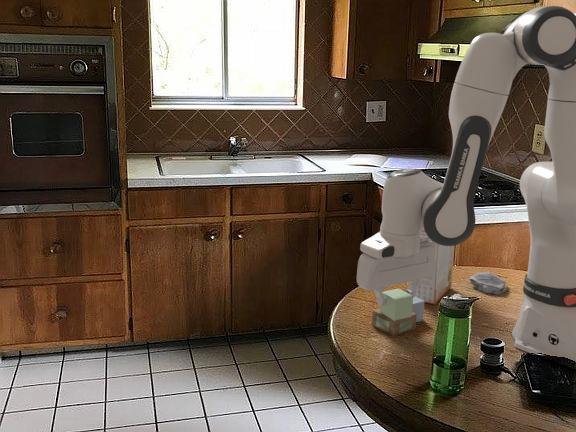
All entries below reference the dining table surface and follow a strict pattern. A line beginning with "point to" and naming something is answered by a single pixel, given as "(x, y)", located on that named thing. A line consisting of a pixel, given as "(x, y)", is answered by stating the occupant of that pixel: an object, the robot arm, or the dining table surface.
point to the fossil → (488, 283)
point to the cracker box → (437, 275)
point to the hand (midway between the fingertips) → (395, 300)
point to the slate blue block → (418, 308)
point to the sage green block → (397, 304)
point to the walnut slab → (393, 323)
